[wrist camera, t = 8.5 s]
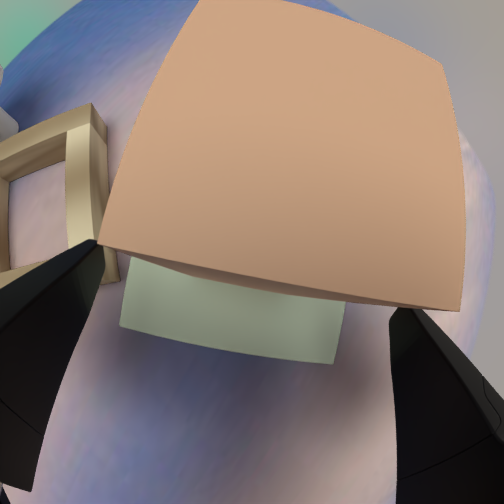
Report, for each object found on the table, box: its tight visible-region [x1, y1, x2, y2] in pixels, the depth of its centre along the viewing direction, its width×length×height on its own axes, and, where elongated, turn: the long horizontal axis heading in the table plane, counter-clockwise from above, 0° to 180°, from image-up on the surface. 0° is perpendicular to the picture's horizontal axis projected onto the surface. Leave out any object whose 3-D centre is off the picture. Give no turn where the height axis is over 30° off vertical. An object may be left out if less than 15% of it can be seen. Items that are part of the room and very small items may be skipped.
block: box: [97, 0, 466, 312], centre depth 9 cm, size 5×5×12 cm
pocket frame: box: [0, 103, 120, 289], centre depth 13 cm, size 10×10×3 cm
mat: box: [119, 256, 346, 364], centre depth 16 cm, size 12×12×1 cm
